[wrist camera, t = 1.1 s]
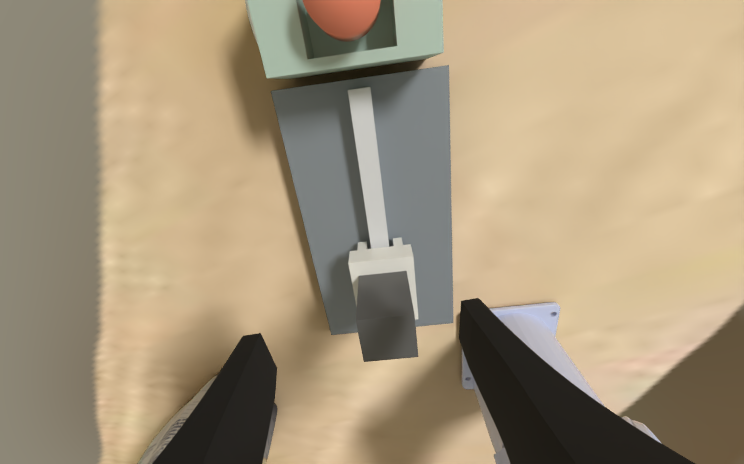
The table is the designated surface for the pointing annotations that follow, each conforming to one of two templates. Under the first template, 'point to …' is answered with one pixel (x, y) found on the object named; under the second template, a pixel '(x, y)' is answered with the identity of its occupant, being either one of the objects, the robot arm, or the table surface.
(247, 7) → the end cabinet
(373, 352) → the carriage
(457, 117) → the table surface
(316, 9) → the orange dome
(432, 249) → the rail board
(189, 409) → the juice carton
